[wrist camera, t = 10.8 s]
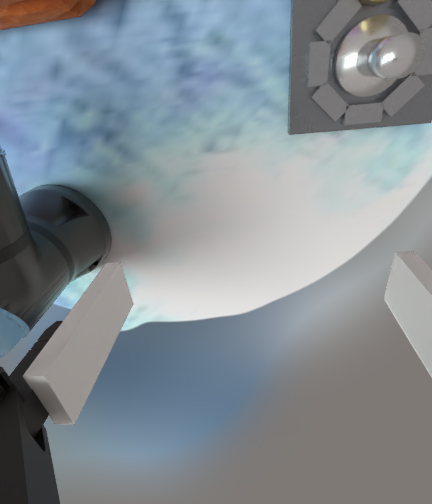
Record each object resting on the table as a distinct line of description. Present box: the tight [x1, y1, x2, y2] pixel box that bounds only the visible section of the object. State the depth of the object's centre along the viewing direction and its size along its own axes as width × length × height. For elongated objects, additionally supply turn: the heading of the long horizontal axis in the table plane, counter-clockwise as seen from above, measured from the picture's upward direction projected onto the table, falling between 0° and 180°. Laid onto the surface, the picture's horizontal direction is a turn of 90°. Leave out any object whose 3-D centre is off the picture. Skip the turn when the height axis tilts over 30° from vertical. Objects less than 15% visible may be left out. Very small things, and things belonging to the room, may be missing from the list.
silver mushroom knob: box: [333, 15, 424, 97], centre depth 28 cm, size 7×7×8 cm
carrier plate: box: [288, 0, 432, 135], centre depth 30 cm, size 16×22×3 cm
